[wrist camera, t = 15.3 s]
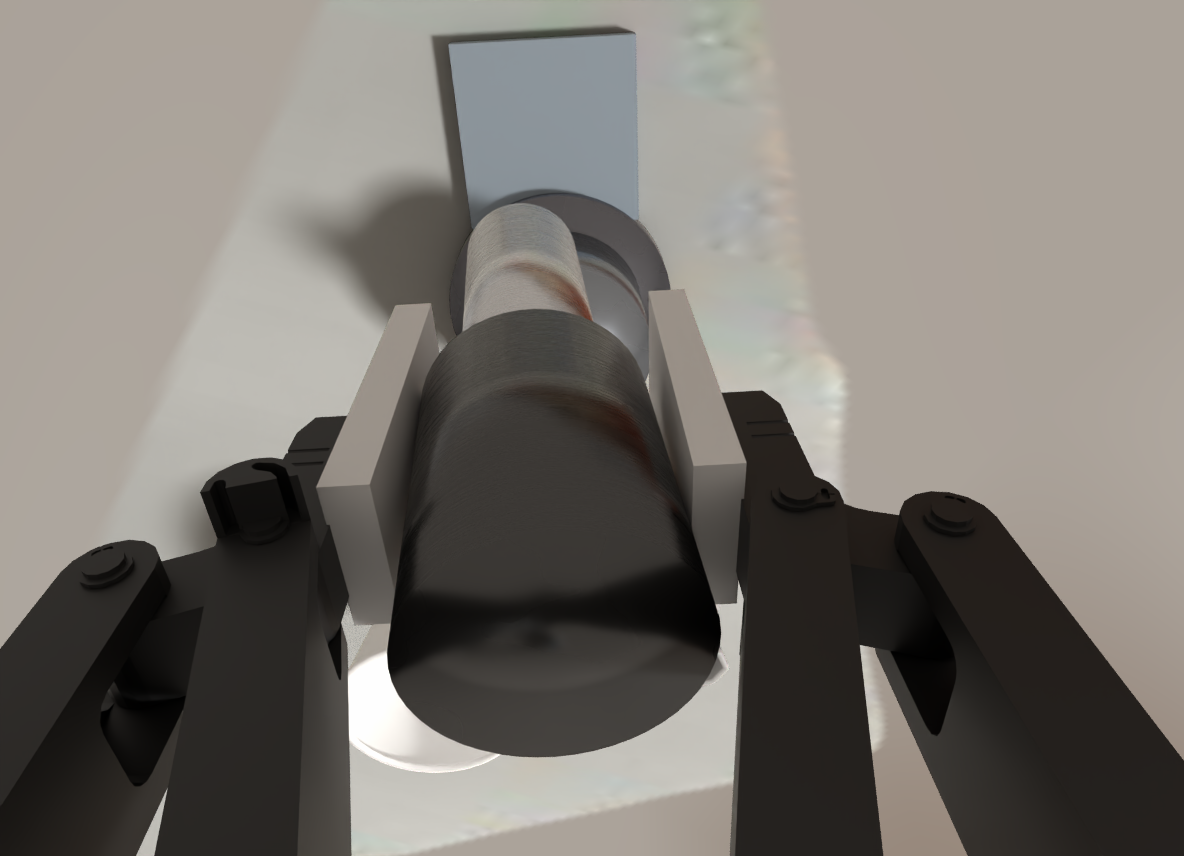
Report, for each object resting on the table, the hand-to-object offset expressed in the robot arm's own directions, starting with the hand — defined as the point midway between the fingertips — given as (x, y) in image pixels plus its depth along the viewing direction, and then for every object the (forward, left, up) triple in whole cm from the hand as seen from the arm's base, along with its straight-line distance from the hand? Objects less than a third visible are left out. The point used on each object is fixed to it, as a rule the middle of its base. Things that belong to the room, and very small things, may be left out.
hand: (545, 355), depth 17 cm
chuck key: (-1, 0, -6) cm, 6 cm away
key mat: (0, 0, -23) cm, 23 cm away
